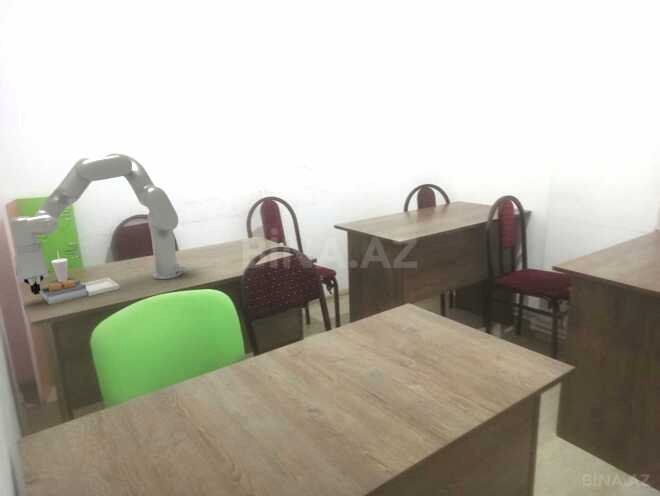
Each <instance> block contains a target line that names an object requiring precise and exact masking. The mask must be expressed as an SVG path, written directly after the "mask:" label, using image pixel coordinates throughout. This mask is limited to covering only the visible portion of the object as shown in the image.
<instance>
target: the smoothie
mask: <svg viewBox="0 0 660 496" xmlns="http://www.w3.org/2000/svg"><path fill="white" fill-rule="evenodd" d="M56 254H57V259H52V260H51V261H50V263H51V265H52V267H53V270H54V274H55V276H56V278H57V283H62V282H64V281H68V280H69V277H68V276H69V275H68V258H60V253H59V251H58V250H57V251H56Z"/></svg>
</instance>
